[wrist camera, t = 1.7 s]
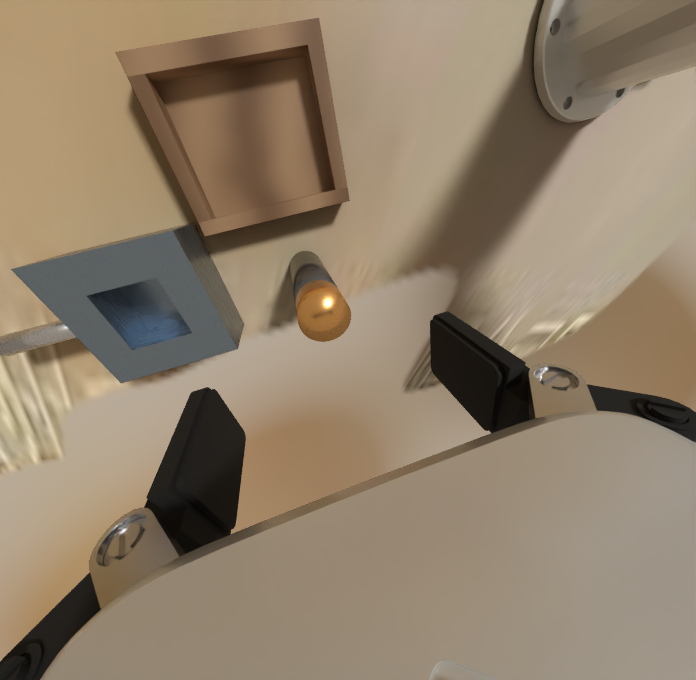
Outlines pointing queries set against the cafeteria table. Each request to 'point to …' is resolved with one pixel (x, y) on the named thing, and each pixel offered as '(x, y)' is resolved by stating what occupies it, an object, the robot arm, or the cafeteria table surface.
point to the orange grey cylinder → (317, 299)
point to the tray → (244, 122)
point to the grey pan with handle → (134, 303)
